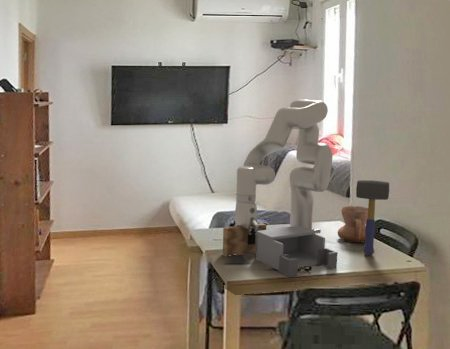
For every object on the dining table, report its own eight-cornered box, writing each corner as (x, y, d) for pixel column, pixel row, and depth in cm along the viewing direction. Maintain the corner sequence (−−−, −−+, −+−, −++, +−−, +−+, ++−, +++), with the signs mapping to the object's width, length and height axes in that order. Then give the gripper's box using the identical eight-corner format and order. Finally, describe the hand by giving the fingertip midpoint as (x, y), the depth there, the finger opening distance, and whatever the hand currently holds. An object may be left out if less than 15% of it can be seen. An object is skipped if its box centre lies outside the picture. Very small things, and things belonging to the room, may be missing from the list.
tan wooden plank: (261, 249, 229) (262, 222, 227) (267, 252, 225) (268, 225, 223) (222, 254, 220) (223, 227, 218) (228, 257, 216) (228, 229, 215)
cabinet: (299, 252, 225) (300, 225, 224) (336, 268, 206) (338, 238, 205) (253, 259, 215) (254, 231, 213) (288, 276, 196) (289, 246, 194)
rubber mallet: (384, 254, 226) (389, 180, 221) (384, 259, 219) (390, 183, 214) (352, 251, 229) (357, 178, 224) (352, 256, 222) (356, 180, 217)
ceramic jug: (335, 234, 255) (337, 203, 252) (368, 235, 253) (370, 204, 251) (339, 246, 237) (340, 213, 235) (374, 247, 236) (376, 214, 233)
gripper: (266, 201, 214) (264, 245, 217) (242, 193, 229) (241, 234, 232) (249, 203, 210) (248, 247, 213) (226, 195, 225) (225, 236, 228)
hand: (244, 241), depth 222 cm, fingers open, 9 cm apart
